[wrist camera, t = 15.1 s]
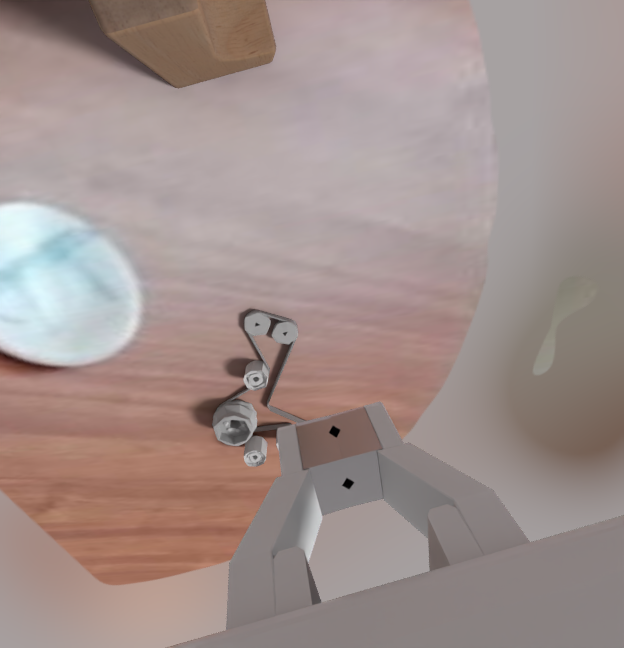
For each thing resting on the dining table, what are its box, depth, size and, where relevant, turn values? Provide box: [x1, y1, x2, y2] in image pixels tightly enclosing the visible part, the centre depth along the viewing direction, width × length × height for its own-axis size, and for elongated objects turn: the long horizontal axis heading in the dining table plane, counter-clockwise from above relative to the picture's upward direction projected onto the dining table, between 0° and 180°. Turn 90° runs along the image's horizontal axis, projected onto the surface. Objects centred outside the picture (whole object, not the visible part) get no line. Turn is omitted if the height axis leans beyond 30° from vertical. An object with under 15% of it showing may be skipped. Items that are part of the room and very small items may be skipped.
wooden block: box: [89, 0, 276, 88], centre depth 22 cm, size 9×4×18 cm, turn 104°
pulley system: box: [212, 310, 304, 466], centre depth 47 cm, size 27×5×15 cm
